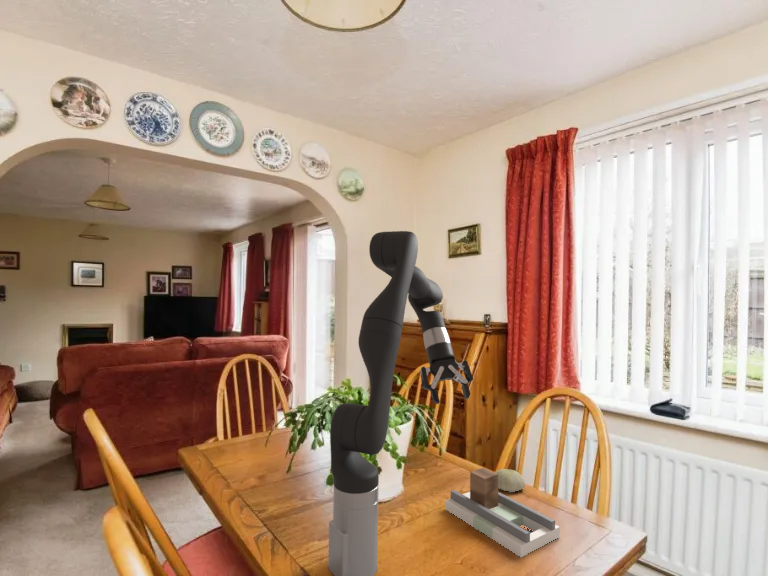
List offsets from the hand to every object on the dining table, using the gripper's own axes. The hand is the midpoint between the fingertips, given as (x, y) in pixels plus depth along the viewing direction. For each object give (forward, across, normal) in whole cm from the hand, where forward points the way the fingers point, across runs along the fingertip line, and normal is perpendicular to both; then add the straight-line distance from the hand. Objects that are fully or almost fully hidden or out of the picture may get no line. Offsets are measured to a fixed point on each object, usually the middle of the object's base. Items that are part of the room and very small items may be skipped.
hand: (452, 401), depth 114 cm
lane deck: (+30, +5, +3) cm, 31 cm away
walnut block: (+26, +3, +6) cm, 27 cm away
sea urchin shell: (+24, +16, +20) cm, 35 cm away
